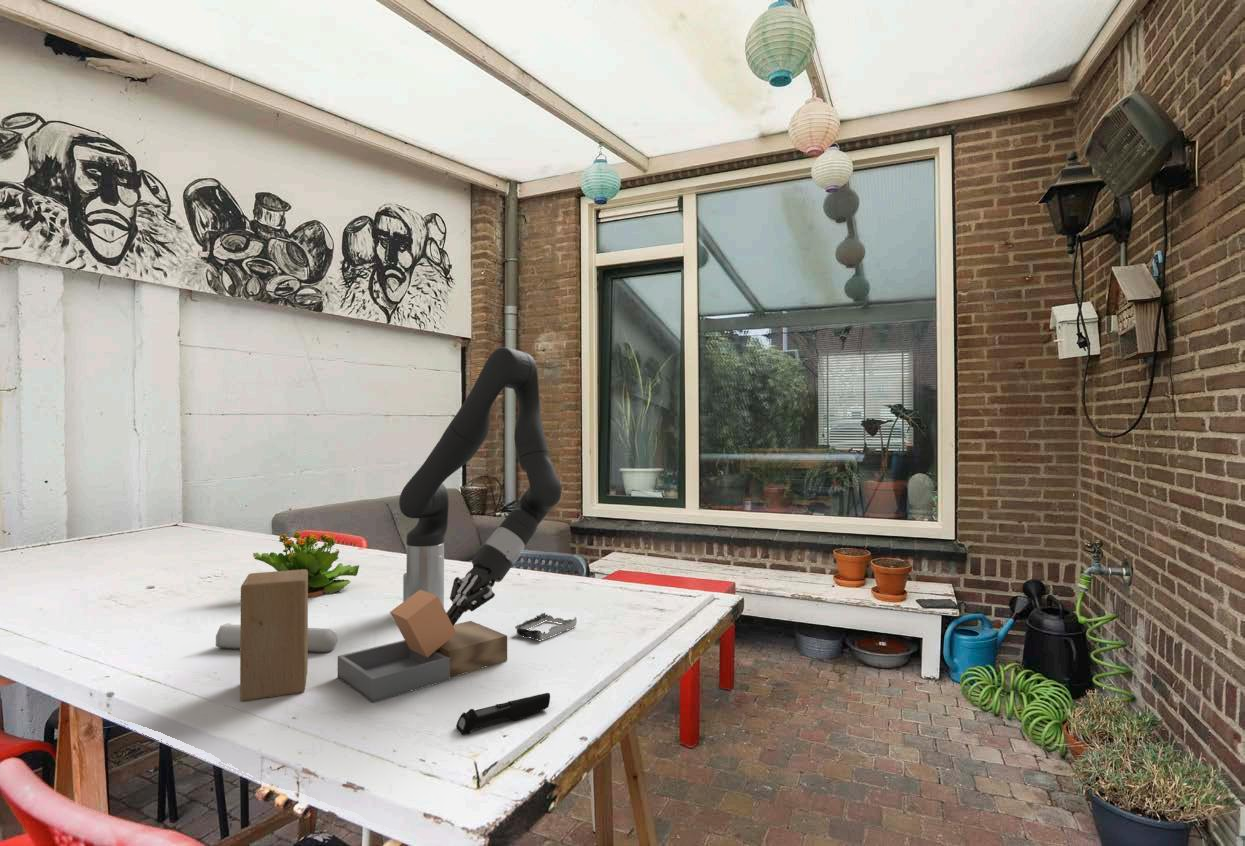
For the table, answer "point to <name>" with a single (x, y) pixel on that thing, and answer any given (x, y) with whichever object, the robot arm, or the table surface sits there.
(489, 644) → the square wooden plinth
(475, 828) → the table surface
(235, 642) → the tube
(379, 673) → the box
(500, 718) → the electric trimmer
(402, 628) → the terracotta block
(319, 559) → the potted flower
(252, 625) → the wooden block
